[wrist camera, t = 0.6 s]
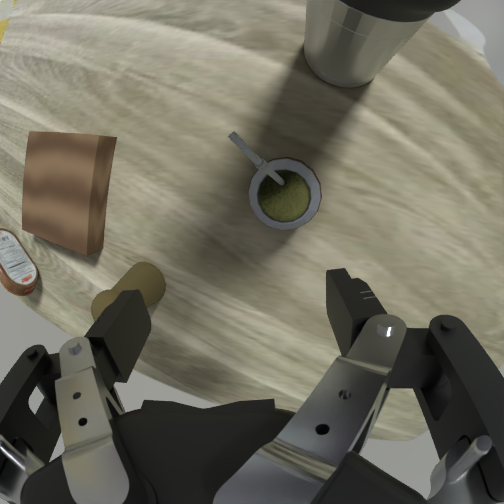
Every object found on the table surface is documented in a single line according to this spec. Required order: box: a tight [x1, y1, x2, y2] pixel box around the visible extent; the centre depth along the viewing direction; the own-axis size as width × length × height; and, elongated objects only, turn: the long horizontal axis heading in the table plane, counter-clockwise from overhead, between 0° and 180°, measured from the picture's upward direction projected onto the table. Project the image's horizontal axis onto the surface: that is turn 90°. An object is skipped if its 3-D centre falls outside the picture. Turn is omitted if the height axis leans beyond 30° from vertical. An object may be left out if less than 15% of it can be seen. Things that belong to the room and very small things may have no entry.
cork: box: [91, 262, 166, 321], centre depth 33 cm, size 6×6×11 cm
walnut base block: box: [22, 132, 117, 256], centre depth 34 cm, size 16×16×4 cm
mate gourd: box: [228, 132, 322, 230], centre depth 25 cm, size 8×8×15 cm
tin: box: [0, 228, 38, 296], centre depth 38 cm, size 15×3×8 cm, turn 46°
